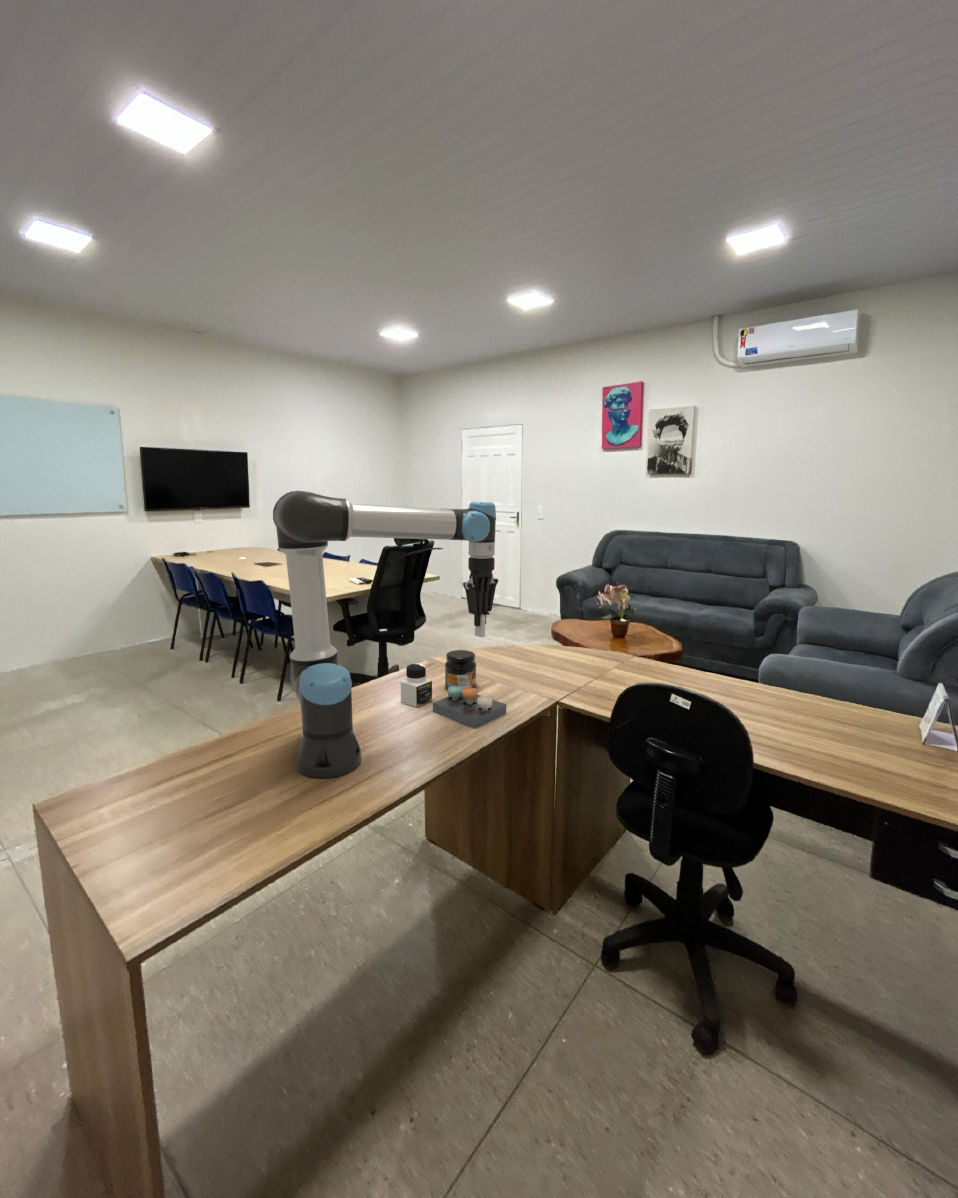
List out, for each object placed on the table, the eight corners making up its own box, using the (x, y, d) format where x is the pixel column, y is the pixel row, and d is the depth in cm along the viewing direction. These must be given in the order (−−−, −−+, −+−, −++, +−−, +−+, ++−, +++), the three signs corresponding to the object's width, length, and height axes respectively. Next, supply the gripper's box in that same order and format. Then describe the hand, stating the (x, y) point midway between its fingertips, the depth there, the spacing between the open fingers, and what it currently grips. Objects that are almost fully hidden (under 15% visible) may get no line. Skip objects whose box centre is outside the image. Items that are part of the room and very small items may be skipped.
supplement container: (465, 696, 173) (465, 660, 170) (438, 689, 178) (438, 655, 176) (482, 686, 182) (482, 652, 179) (456, 680, 187) (456, 647, 185)
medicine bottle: (416, 708, 163) (416, 670, 161) (400, 702, 167) (399, 665, 165) (432, 701, 169) (432, 664, 166) (416, 695, 173) (415, 660, 171)
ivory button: (485, 718, 153) (485, 703, 152) (474, 714, 156) (474, 698, 155) (495, 714, 156) (495, 698, 155) (483, 710, 159) (484, 694, 158)
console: (474, 728, 149) (475, 718, 149) (432, 711, 160) (432, 702, 160) (506, 713, 160) (506, 704, 159) (464, 698, 171) (464, 690, 170)
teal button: (455, 707, 161) (455, 692, 160) (444, 703, 163) (444, 688, 163) (465, 703, 164) (465, 688, 163) (454, 699, 167) (454, 684, 166)
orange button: (470, 709, 157) (470, 694, 156) (459, 705, 159) (459, 690, 158) (479, 705, 160) (480, 690, 159) (469, 701, 163) (469, 686, 162)
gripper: (475, 559, 146) (474, 643, 150) (506, 556, 155) (503, 634, 160) (456, 557, 151) (455, 637, 155) (486, 553, 160) (485, 630, 165)
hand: (479, 636), depth 158 cm, fingers closed
